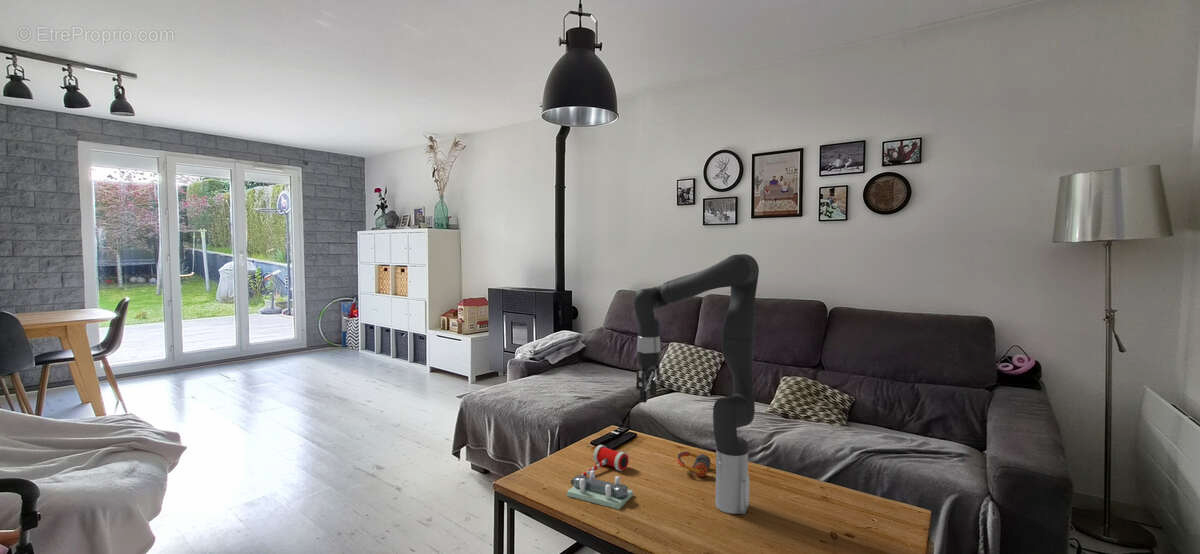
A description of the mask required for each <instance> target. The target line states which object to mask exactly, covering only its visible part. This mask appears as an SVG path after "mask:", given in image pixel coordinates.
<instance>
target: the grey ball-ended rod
mask: <svg viewBox="0 0 1200 554" xmlns="http://www.w3.org/2000/svg"><path fill="white" fill-rule="evenodd" d="M581 478H583V479H585V490H588V491H592V492H596V493H601V494H605V495H606V485H611V496H613V497H614V498H616V499H625V498H627V497H628V489H629V488H628V486H627V485H626V484H622V483H620V484H615V482H614V483H613V482H609V481H604V480H600V479H597V478H595V479H593V478H590V477H588V475H587V476H584V475H582V474H578V475H575V476H574V477H573V479H574V485H573V486H574V488H576V489H580V479H581Z"/></svg>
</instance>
